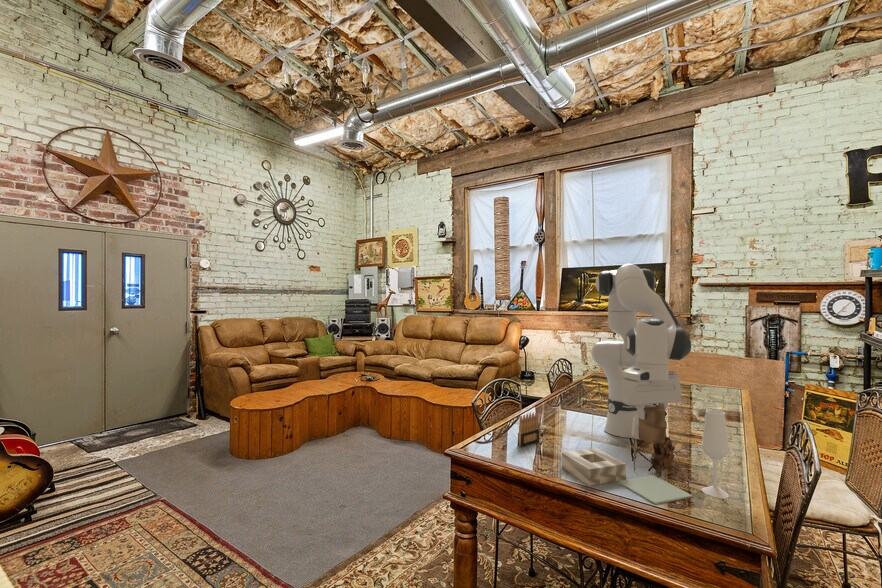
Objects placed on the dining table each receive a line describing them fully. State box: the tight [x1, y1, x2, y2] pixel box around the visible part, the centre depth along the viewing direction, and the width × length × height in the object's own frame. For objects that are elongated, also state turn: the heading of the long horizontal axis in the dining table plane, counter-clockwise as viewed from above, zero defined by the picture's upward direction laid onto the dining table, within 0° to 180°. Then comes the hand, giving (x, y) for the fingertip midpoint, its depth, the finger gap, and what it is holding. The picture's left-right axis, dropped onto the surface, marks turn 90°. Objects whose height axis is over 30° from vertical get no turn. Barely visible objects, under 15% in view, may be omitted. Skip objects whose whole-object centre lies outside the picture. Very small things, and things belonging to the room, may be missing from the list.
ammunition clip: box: [517, 411, 540, 448], centre depth 159 cm, size 11×2×12 cm, turn 126°
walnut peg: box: [638, 404, 666, 445], centre depth 122 cm, size 5×5×10 cm
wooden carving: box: [650, 436, 676, 471], centre depth 138 cm, size 16×5×10 cm, turn 137°
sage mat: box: [617, 474, 693, 505], centre depth 121 cm, size 14×14×1 cm
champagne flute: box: [701, 409, 730, 499], centre depth 120 cm, size 7×7×24 cm
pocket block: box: [561, 447, 627, 487], centre depth 132 cm, size 14×14×5 cm
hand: (651, 418), depth 122 cm, fingers closed on walnut peg, 5 cm apart
